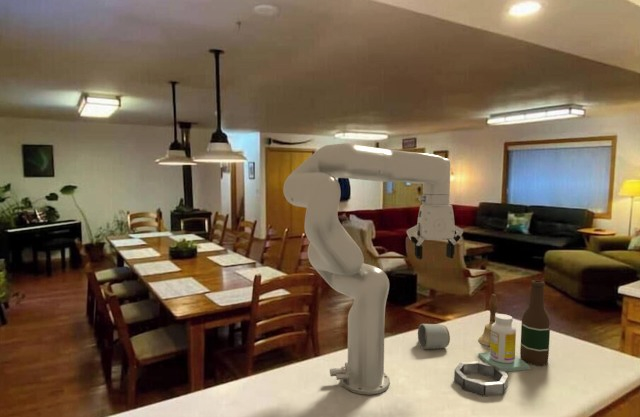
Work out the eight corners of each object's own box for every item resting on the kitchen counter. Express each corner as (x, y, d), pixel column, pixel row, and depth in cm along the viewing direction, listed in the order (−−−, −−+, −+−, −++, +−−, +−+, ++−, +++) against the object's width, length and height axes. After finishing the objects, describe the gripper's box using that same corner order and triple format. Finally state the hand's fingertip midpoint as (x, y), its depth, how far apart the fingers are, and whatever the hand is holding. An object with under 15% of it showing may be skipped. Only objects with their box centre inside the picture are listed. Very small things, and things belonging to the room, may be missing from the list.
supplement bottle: (516, 357, 122) (518, 315, 120) (512, 366, 116) (514, 322, 115) (492, 352, 125) (493, 311, 124) (487, 360, 120) (489, 317, 118)
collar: (470, 398, 102) (471, 386, 101) (447, 373, 114) (448, 363, 114) (516, 393, 104) (517, 382, 103) (489, 370, 116) (489, 360, 115)
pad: (497, 372, 115) (497, 368, 115) (478, 356, 125) (478, 353, 125) (529, 369, 116) (530, 366, 116) (508, 354, 126) (508, 350, 126)
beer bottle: (552, 367, 118) (557, 285, 115) (523, 365, 119) (527, 283, 117) (543, 355, 125) (547, 278, 123) (516, 353, 127) (519, 277, 125)
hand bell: (475, 336, 140) (477, 290, 138) (501, 337, 139) (503, 291, 137) (481, 346, 132) (483, 298, 130) (509, 348, 130) (511, 299, 129)
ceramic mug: (451, 351, 128) (451, 327, 128) (426, 353, 127) (427, 328, 126) (436, 338, 139) (436, 316, 138) (413, 340, 137) (413, 317, 137)
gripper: (412, 201, 115) (411, 261, 117) (470, 201, 118) (468, 259, 119) (403, 199, 123) (402, 256, 124) (457, 199, 125) (455, 254, 127)
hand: (434, 257), depth 122 cm, fingers open, 9 cm apart
